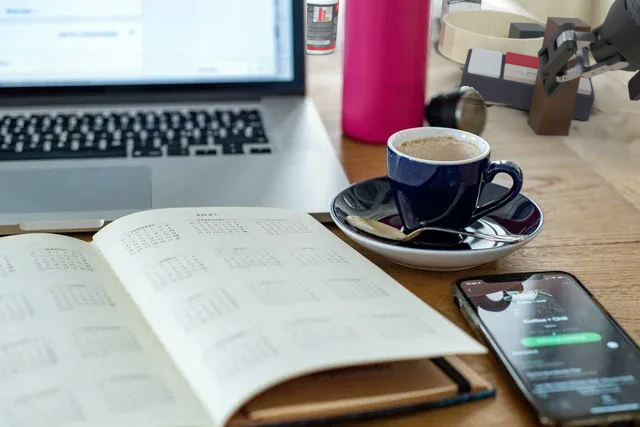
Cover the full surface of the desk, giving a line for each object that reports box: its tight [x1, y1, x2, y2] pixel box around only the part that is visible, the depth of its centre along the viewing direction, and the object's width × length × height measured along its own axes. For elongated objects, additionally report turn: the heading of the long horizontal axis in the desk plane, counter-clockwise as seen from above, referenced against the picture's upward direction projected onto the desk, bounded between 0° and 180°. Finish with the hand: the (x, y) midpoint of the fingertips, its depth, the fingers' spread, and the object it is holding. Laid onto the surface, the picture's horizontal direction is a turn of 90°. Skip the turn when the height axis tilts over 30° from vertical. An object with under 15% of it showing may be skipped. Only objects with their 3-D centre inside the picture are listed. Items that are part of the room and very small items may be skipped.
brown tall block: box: [527, 16, 592, 136], centre depth 94 cm, size 4×4×12 cm
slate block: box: [508, 22, 545, 39], centre depth 119 cm, size 4×4×4 cm
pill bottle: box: [306, 0, 340, 56], centre depth 116 cm, size 6×6×10 cm
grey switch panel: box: [459, 47, 595, 122], centre depth 105 cm, size 11×4×15 cm
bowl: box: [437, 9, 547, 66], centre depth 119 cm, size 15×15×5 cm
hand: (590, 90), depth 87 cm, fingers open, 8 cm apart
